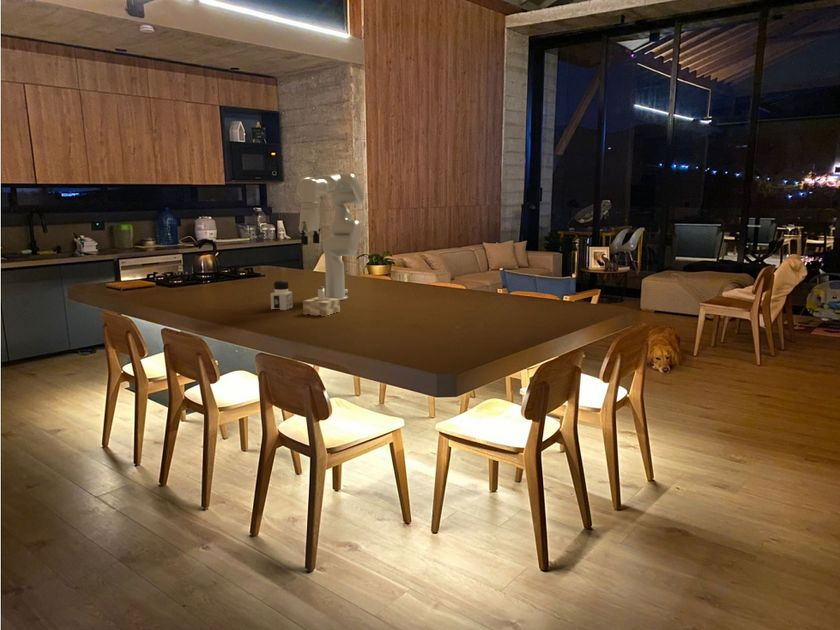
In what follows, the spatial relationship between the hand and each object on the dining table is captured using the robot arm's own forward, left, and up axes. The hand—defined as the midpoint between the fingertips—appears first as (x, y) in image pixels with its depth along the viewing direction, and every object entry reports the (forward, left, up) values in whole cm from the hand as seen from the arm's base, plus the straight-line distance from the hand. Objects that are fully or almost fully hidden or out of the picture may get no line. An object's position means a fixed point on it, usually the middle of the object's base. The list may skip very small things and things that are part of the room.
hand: (310, 243), depth 293 cm
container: (+6, -13, -31) cm, 34 cm away
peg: (+8, +10, -30) cm, 33 cm away
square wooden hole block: (+8, +10, -30) cm, 33 cm away
